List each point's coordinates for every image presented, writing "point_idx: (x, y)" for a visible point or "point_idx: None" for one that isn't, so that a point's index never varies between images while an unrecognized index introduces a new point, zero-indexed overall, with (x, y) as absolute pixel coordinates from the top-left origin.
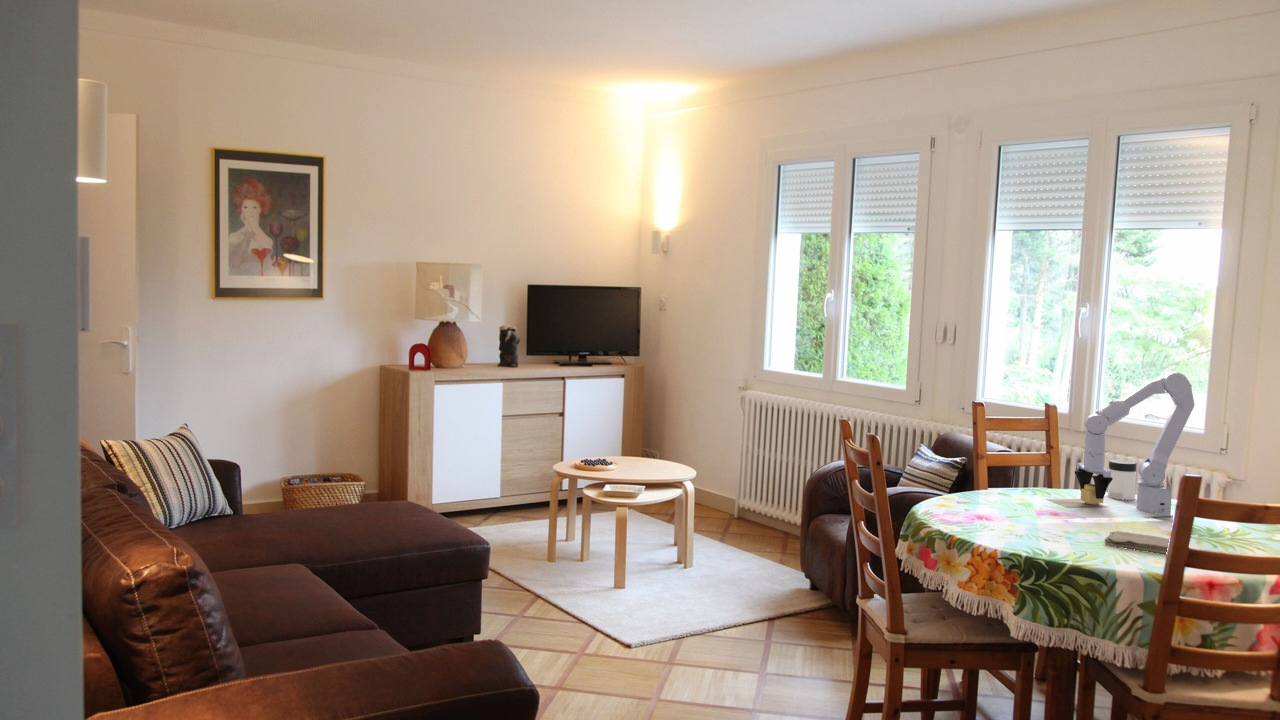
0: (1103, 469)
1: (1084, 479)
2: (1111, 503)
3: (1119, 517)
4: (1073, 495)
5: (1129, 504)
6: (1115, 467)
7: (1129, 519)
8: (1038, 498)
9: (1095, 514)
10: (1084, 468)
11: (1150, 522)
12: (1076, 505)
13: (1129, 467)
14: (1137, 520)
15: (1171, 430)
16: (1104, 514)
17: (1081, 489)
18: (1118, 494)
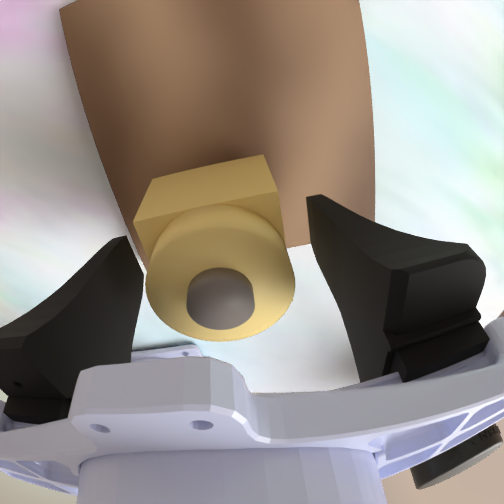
0: (59, 485)
1: (352, 287)
2: (338, 321)
3: (24, 255)
4: (493, 227)
5: (316, 366)
6: (455, 446)
7: (9, 279)
8: (464, 4)
9: (39, 161)
10: (74, 399)
11: (4, 324)
12: (146, 82)
13: (416, 475)
14: (9, 299)
15: None
16: (57, 209)
17: (271, 189)
18: None
